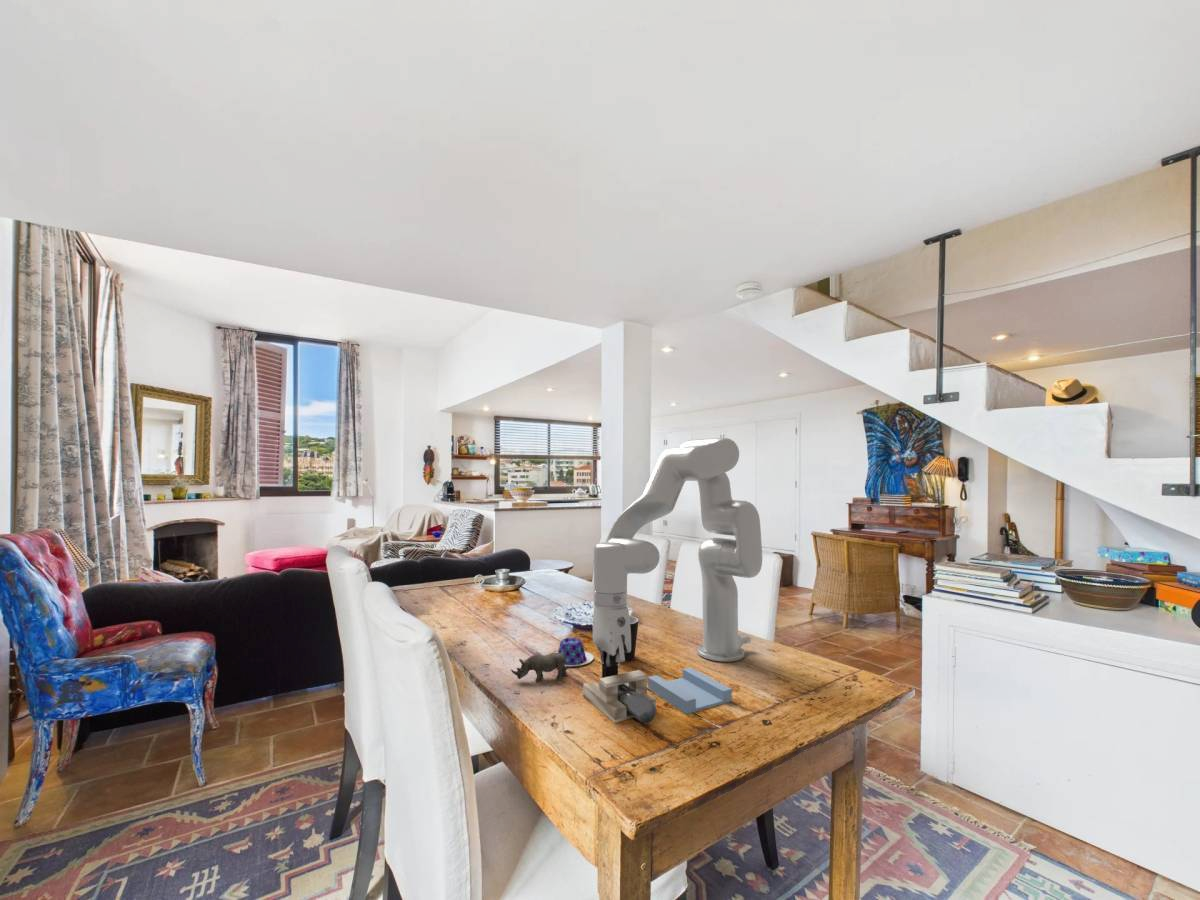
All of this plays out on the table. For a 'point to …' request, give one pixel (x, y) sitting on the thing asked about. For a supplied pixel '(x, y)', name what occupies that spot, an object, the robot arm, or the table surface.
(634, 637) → the coffee mug
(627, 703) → the axle
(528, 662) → the rhino figurine
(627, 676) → the bracket
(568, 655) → the pudding
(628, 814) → the table surface
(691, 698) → the cradle
